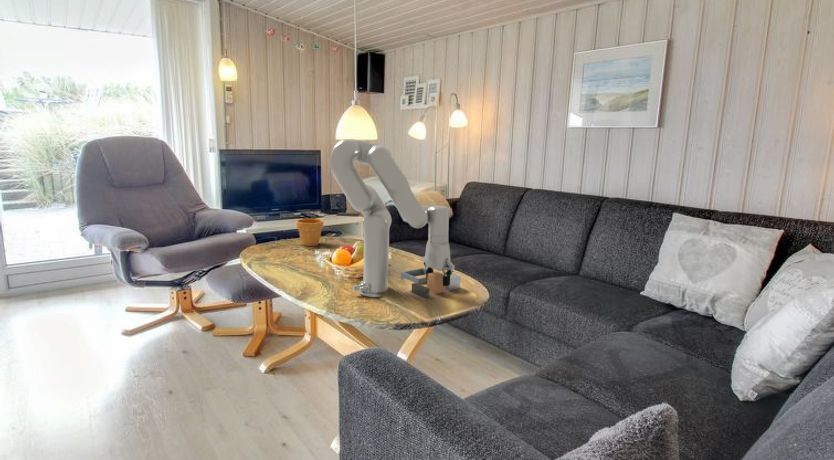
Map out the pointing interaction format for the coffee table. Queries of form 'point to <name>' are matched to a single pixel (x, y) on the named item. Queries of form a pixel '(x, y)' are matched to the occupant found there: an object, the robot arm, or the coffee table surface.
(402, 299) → the coffee table surface
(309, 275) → the coffee table surface
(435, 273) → the light orange block
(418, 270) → the tray
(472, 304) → the coffee table surface
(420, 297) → the slide board
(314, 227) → the flower pot
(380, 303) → the coffee table surface
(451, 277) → the grey cube block
